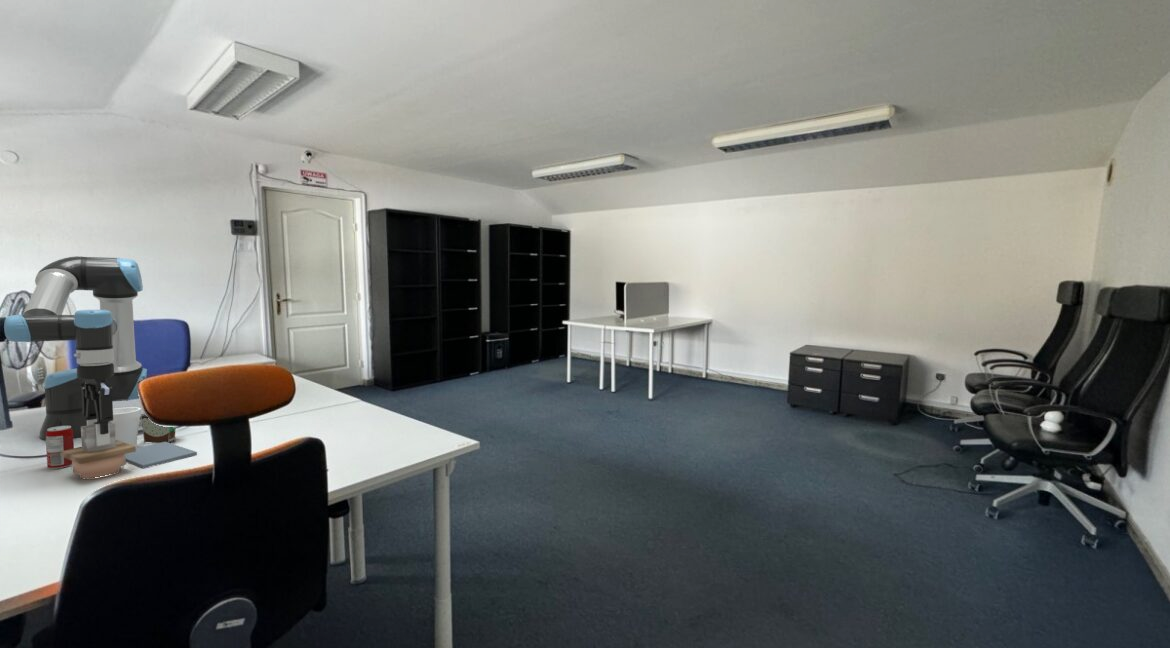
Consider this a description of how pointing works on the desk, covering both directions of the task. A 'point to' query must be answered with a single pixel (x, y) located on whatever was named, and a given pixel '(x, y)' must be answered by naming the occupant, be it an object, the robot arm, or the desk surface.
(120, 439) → the foam cup
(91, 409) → the robot arm
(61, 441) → the soda can
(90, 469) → the bowl
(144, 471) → the desk surface
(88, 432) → the lid
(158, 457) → the mat
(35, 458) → the desk surface
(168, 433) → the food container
